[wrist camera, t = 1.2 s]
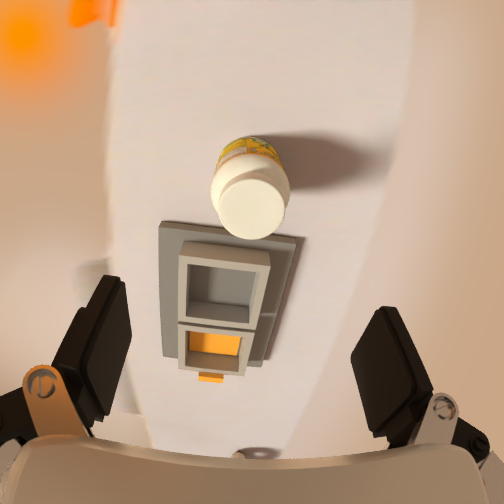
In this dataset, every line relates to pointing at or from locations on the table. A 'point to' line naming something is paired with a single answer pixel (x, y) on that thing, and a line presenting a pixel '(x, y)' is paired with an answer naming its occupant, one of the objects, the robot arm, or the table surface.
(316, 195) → the table surface
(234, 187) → the supplement bottle
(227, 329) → the compartment tray
